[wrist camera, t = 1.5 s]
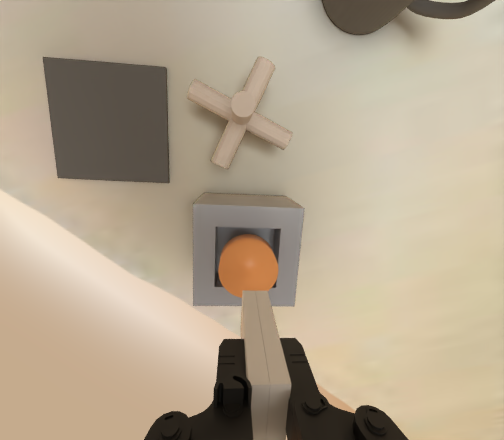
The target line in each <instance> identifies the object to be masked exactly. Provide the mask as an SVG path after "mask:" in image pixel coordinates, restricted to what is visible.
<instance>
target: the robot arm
mask: <svg viewBox="0 0 504 440" xmlns="http://www.w3.org/2000/svg"><path fill="white" fill-rule="evenodd" d="M286 434H287V439H288V440H408V439H407V437H406V436H405V435H404V434H403V433H402V431H401V430H400V429H399V428H398V427H397V426H396V424H395V423H394V422H393V421H392V420H391V418H390V417H388V416H387V415H386V414H385V413H384V412H383V411H381V410H379V409H378V408H376V407H373V406H369V405H364V406H360V407H359V408H357V410H356V412H355V414H354V413H351V412H347V411H344V410H341V409H338V408H336V407H334V406H332V405H330V404H329V403H328V401H327V399H326V398H325V397H324V396H323V395H322V394H320V392H319V390H318V387H317V385H316V382H315V379H314V377H313V374H312V371H311V368H310V366H309V363H308V360H307V358H306V356H305V352H304V349H303V347H302V345H301V344H300V343H299V342H298V341H297V339H296V338H279V334H278V330H277V326H276V322H275V318H274V314H273V310H272V307H271V303H270V299H269V295H268V291H251V290H243V291H242V312H241V339H224V340H223V342H222V343H221V345H220V346H219V355H218V367H217V379H216V384H215V387H214V400H213V402H212V404H211V405H210V406H209V407H208V408H207V409H206V410H205V411H203V412H201V413H199V414H197V415H194V416H192V417H189V418H188V417H187V415H186V414H184V413H181V412H178V411H171V412H169V413H166V414H163V415H162V416H161V417H159V418H158V419H157V420H156V421H155V422H154V424H153V425H152V426H151V428H150V430H149V431H148V434H147V435H146V437H145V439H144V440H285V439H286Z"/></svg>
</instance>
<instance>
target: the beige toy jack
mask: <svg viewBox="0 0 504 440" xmlns="http://www.w3.org/2000/svg"><path fill="white" fill-rule="evenodd" d="M274 70H275V66H274V64H273V63H272V62H271V61H269V60H268V59H266V58H264V57H258V58H257V59H256V62H255V64H254V66H253V68H252V71H251V73H250V75H249V77H248V79H247V82H246V84H245V86H244V88H243V90H242V91H239V92H237V93H236V94H235V95H234V96H233V97H232V99H231V98H229V97H227V96H225V95H223V94H221V93H220V92H218V91H216V90H214V89H212V88H211V87H209V86H207V85H205V84H203V83H202V82H200V81H198V80H196V79H194V80H193V81H192V83H191V85H190V87H189V90H188V94H187V98H188V99H189V100H191V101H193V102H195V103H196V104H198V105H200V106H202V107H204V108H206V109H208V110H209V111H211V112H213V113H215V114H217V115H219V116H221V117H223V118H224V119H226V120H228V124H227V126H226V128H225V130H224V132H223V135H222V137H221V139H220V141H219V144H218V146H217V148H216V150H215V152H214V155H213V157H212V159H211V161H212V162H213V163H215V164H217V165H219V166H221V167H223V168H226V169H228V168H229V166H230V164H231V162H232V159H233V157H234V155H235V153H236V151H237V149H238V147H239V144H240V142H241V140H242V138H243V136H244V134H245V132H246V130H247V131H249V132H251V133H253V134H254V135H256V136H258V137H260V138H262V139H264V140H266V141H268V142H269V143H271V144H273V145H275V146H277V147H279V148H281V149H282V150H284V149H285V148H286V146H287V144H288V143H289V141H290V139H291V137H292V132H290V131H289V130H287V129H285V128H283V127H281V126H280V125H278V124H276V123H274V122H272V121H270V120H269V119H267V118H265V117H263V116H261V115H260V114H258V113H256V112H255V110H256V108H257V106H258V104H259V102H260V100H261V98H262V95H263V93H264V91H265V89H266V87H267V85H268V83H269V80H270V78H271V76H272V74H273V72H274Z"/></svg>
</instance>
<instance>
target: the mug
mask: <svg viewBox="0 0 504 440" xmlns="http://www.w3.org/2000/svg"><path fill="white" fill-rule="evenodd" d="M493 1H495V0H468V1H465V2H460V3H443V2H434V1H430V0H323V4H324V7H325V10H326V12H327V14H328V16H329V17H330V19H331V20H332V21H333V23H334V24H335V25H336V26H338V27H339V28H340V29H342V30H343V31H345V32H348V33H351V34H367V33H371V32H374V31H376V30H378V29H380V28H381V27H383V26H384V25H386V24H387V23H388V22H390V21H391V20H392V19H393V18H394V17H396V16H397V15H398V14H399V13H400V12H402V11H403V10H404V9H405V8H406V7H407V8H408V9H409V10H411V11H412V12H414V13H416V14H419V15H422V16H425V17H431V18H438V19H458V18H463V17H466V16H469V15H471V14H473V13H475V12H477V11H479V10H481V9H483V8H484V7H486V6H487V5H489V4H490V3H492V2H493Z"/></svg>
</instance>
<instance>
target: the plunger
mask: <svg viewBox="0 0 504 440" xmlns="http://www.w3.org/2000/svg"><path fill="white" fill-rule="evenodd" d="M218 272H219V279H220V281H221V283H222V285H223V287H224V288H225V289H226V290H227V291H228V292H229V293H231V294H232V295H234V296H237V297H240V298H242V291H243V290H251V291H269V290H270V289H271V288H272V286H273V285H274V284H275V282H276V280H277V277H278V263H277V260H276V258H275V255H274V253H273V251H272V248H271V247H270V245H269V244H268V242H267V241H265V240H264V239H263V238H261V237H259V236H257V235H253V234H242V235H238V236H236V237H234V238H232V239H231V240H229V241H228V242H227V243H226V245H225V246H224V248H223V249H222V252H221V256H220V262H219V270H218Z"/></svg>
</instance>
